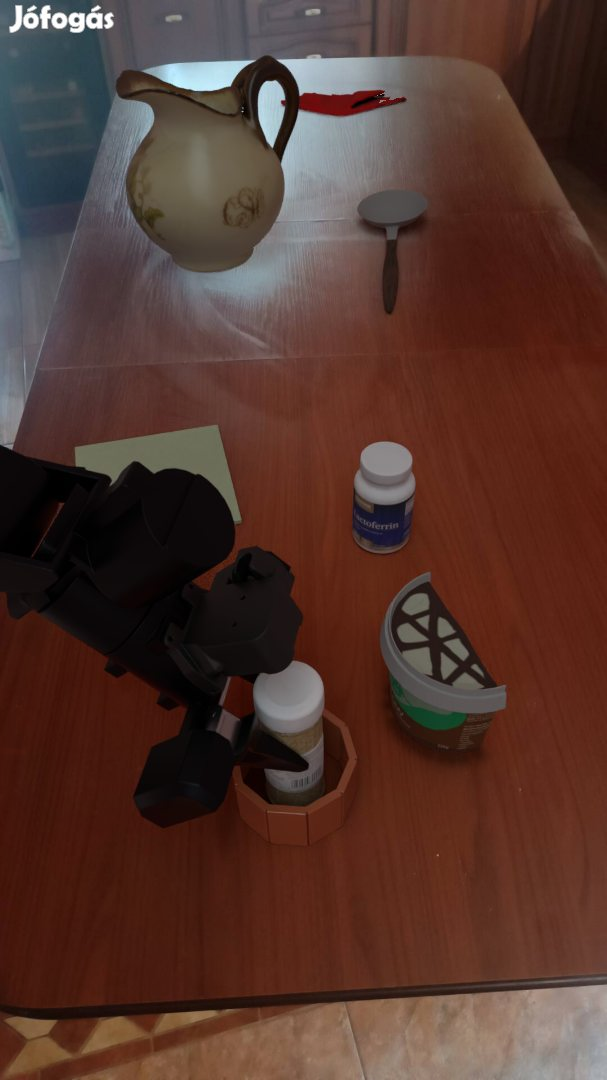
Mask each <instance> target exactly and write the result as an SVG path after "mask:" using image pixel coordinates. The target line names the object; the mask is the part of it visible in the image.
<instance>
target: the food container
mask: <svg viewBox="0 0 607 1080" xmlns="http://www.w3.org/2000/svg"><path fill="white" fill-rule="evenodd" d="M431 576H432V571H428V572H425V573H422V574H421V575H419V576H417V577H415V578H413V579H411V580H410V581H409V582H408V583H407V584H405V585H404V586H403V587H402V588H401V590H400V591H399V592H398V593H396V595H395V596H394V597H393V599H392V601H391V603H390V604H389V606H388V608H387V611H386V613H385V615H384V618H383V620H382V623H381V627H380V633H379V647H380V652H381V655H382V658H383V661H384V663H385V665H386V667H387V669H388V671H389V700H390V706H391V711H392V715H393V717H394V720H395V722H396V723H397V725H398V726H399V728H400V729H401V730H402V732H404V733H405V734H406V736H408V737H409V738H410V739H411V740H413V741H414V742H415V743H417V744H419V745H421V746H422V747H425V748H427V749H430V750H433V751H436V752H440V753H446V754H463V753H470V752H474V751H477V750H480V749H481V747H482V745H483V742H484V739H485V737H486V735H487V733H488V732H489V731H488V730H489V728H490V726H491V724H492V722H493V720H494V717H495V715H496V712H497V711H502V710H504V709H505V710H506V707H507V692H506V688H507V685H506V684H503V685H500V686H499V685H498V684H497V682H496V681H495V680H494V679H493V678H492V676H491V675H490V673H489V671H488V670H487V668H486V666H485V665H484V664H483V662H482V660H481V658H480V657H479V655H478V654H477V652H476V650H475V648H474V646H473V644H472V643H471V641H470V639H469V638H468V636H467V634H466V633H465V631H464V629H463V627H462V626H461V625H460V624H459V623H458V621H457V620H456V619H455V617H454V616H453V615H452V613H451V612H450V610H449V609H448V608H447V607H446V605H445V603H444V602H443V601H442V599H441V597H440V596H439V594H438V593H437V591H436V590H435V588H434V587H433V585H432V583H431V581H432V580H431V578H432V577H431Z"/></svg>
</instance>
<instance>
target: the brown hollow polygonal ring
mask: <svg viewBox="0 0 607 1080" xmlns="http://www.w3.org/2000/svg"><path fill="white" fill-rule="evenodd" d="M257 719H258V724H259V718H258V717H257ZM322 725H323V748H324V752H326V754H328V755H330V756H331V757H332V758H333V759H335V760H336V761H337V762H339V765H340V768H341V772H342V774H341V776H340V779H339V781H338V784H337V786H336V788H335V789H334V790H332V791H330V792H329V793H327V794H324V795H323V796H322V798H320V799H318V800H316V801H315V802H313V803H311V804H310V805H308V806H306V807H300V806H286V805H273V804H272V803H268V802H267V801H266V800H265V799H263V798H262V797H261V796H260V795H259V794H258V793H257V792H256V791H254V790H253V789H252V788H250V787H249V786H248V785H247V784H245V783H244V781H245V780H246V777H247V775H248V773H249V772H250V770H251V768H252V767H244V766H234V769H233V772H232V779H233V785H234V790H235V794H236V796H235V797H236V801H237V806H238V812H239V817H240V818H241V820H242V821H243V822H244V824H247V825H248V826H249V827H250V828H251V829H252V830H254V832H256V833H257V834H258V835H259V836H260V837H261V838H262V839H264V840H265V841H266V842H267V843H270V844H274V845H276V844H277V845H288V846H302V847H303V846H305V847H308V846H312V845H313V844H315V843H317V842H318V841H320V840H321V839H323V838H325V837H327V836H329V835H330V834H331V833H333V832H335V831H336V830H338V829H340V828H342V825H344V824H345V821H346V818H347V816H348V814H349V811H350V808H351V806H352V803H353V801H354V799H355V796H356V792H357V774H358V773H357V772H358V755H357V751H356V749H355V745H354V741H353V738H352V735H351V732H350V728H349V726H348V725H347V723H346V722H344V721H343V720H341V719H340V718H339V717H338V716H337V715H335V714H333V713H332V712H331V711H329V710H328V709H326V707H324V709H323V712H322ZM259 728H260V725H259Z"/></svg>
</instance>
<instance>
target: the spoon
mask: <svg viewBox="0 0 607 1080" xmlns="http://www.w3.org/2000/svg"><path fill="white" fill-rule="evenodd" d="M428 205H429V202H428V199H427V197H426V196H424V194H421V193H419V192H417V191H414V190H410V189H387V190H382V191H378V192H375V193H372V194H369V195H368V196H366V197H365V198H363V199H362V200H361V201H360V202H359V203H358V205H357V208H356V211H357V214H358V215H359V217H361V218H362V220H364V221H365V222H366V223H368V224H370V225H372V226H374V227H376V228H379V229H383V230H385V231H386V248H385V249H386V250H385V251H386V252H385V257H384V262H383V266H382V267H383V269H382V295H383V303H384V309H385V311H386V312H387V313H391V312H392V311H393V309H394V307H395V302H396V298H397V292H398V284H399V261H398V255H397V254H398V253H397V246H398V245H397V244H398V231H399V229H400V228H404V227H406V226H409V225H411V224H412V223H415V222H416V221H417V220H418V219H419V218H421V216H422V215H423V214H424V213H425V212H426V210H427V208H428Z"/></svg>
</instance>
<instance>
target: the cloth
mask: <svg viewBox="0 0 607 1080" xmlns="http://www.w3.org/2000/svg"><path fill="white" fill-rule="evenodd" d="M385 91H386V90H383V89H373V90H371V89H370V90H357V91H355V92H353V93H352V94H350V93H345V94H344V93H343V94H336V93H335V94H334V93H332V94H331V95H330V94H325V93H316V92H303V93H302V94H301V95H300V104H299V110H300V111H306V112H311V113H316V114H321V115H327V116H328V115H329V116H339V117H345V116H351V115H356V114H360V113H363V112H367V111H371V110H375V109H378V108H380V107H385V106H389V105H392V104H396V103H399V102H404V101H407V100H408V98H407V97H405V96H403V97H402V98H396V99H394V100H389V99H390V97H391V96H386V92H385ZM384 92H385V94H382V93H384ZM380 94H382V95H380ZM377 95H378V96H377ZM380 100H386V101H383V102H381V103H379V102H380ZM280 104H281V105H282V106H285V99H282V100H280Z"/></svg>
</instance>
